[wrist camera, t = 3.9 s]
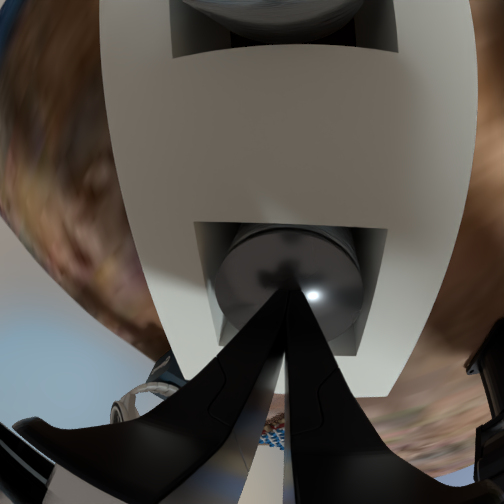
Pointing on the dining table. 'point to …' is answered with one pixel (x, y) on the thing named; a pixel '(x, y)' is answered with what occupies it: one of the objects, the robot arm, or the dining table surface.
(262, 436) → the woven mat
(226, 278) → the peg
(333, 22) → the peg
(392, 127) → the sleeve block
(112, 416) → the watch
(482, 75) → the dining table surface
